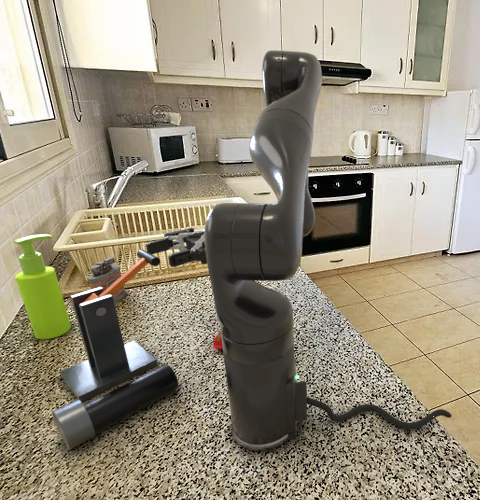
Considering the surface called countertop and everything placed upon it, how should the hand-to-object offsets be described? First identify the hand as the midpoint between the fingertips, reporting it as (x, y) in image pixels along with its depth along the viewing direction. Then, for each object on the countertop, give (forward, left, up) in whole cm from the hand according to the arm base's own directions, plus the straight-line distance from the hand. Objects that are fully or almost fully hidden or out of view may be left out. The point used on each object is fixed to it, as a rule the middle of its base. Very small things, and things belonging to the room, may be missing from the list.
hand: (158, 255), depth 66 cm
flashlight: (+1, +18, -19) cm, 26 cm away
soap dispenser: (+25, -6, -19) cm, 32 cm away
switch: (+4, +4, -4) cm, 7 cm away
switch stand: (+8, +8, -19) cm, 22 cm away
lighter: (+20, -18, -19) cm, 33 cm away
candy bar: (-12, -3, -19) cm, 22 cm away
